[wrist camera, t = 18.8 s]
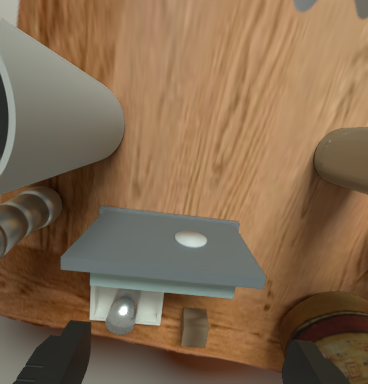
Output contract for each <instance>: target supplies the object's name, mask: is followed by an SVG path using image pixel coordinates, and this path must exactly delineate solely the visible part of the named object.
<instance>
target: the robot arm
mask: <svg viewBox="0 0 368 384" xmlns="http://www.w3.org/2000/svg"><path fill="white" fill-rule="evenodd" d="M314 165H315V169H316V171H317V173H318V175H319V176H320V177H321V178H322V179H324V180H325V181H327V182H330V183H333V184H336V185H339V186H342V187H345V188H348V189H351V190H354V191H357V192H360V193H364V194H367V195H368V127H356V128H341V129H337V130H335V131H333V132H331V133H329V134H328V135H327V136H325V137H324V138H323V140H322V141H321V142H320V144H319V145H318V147H317V149H316V152H315V156H314ZM90 349H91V322H85V321H73V320H71V321H69V323H68V324H67V326H66V327H65V329H64V331H63V332H62V334H61V336H53V335H51V336H50V337H49V338H47V339H46V340H45V341H44V342H43V343H42V344H40V345H39V346H38V347H37V348H36V349H35V351H34V352H33V354H32V356H31V357H30V359H29V360H28V362H27V363H26V366H25V367H24V368H23V369H22V371H21V373H20V374H19V375H18V377H17V379H16V381H15V382H14V383H13V384H81V383H82V380H83V378H84V375H85V373H86V370H87V366H88V363H89V357H90ZM282 378H283V383H284V384H351V383H350V382H349V380H348V379H347V378H346V376H345V375H344V373H343V372H342V371H341V370H340V369H339V368H338V367H337V366H336V365H335V364H334V363H333V362H332V361H331V360H330V359H329V358H324V356H323V355H322V353H321V352H320V350H319V349H318V347H317V346H316V344H315V343H313V342H312V341H302V340H292V341H291V342H290V345H289V348H288V351H287V354H286V358H285V361H284V364H283V368H282Z"/></svg>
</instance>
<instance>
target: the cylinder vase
mask: <svg viewBox="0 0 368 384" xmlns="http://www.w3.org/2000/svg"><path fill="white" fill-rule="evenodd" d="M124 129H125V120H124V114H123V111H122V108H121V105H120V103H119V101H118V100H117V98H116V97H115V95H114V94H113V93H112V92H111V91H110V90H109V89H108V88H107V87H106V86H104V85H103V84H101V83H100V82H98V81H97V80H95V79H94V78H92V77H91V76H89V75H88V74H86V73H85V72H83V71H82V70H80V69H79V68H77V67H76V66H74V65H73V64H71V63H70V62H68V61H67V60H65V59H64V58H62V57H61V56H59V55H57V54H56V53H54V52H53V51H51V50H50V49H48V48H47V47H45V46H44V45H42V44H41V43H39V42H38V41H36V40H35V39H33V38H32V37H30V36H29V35H27V34H26V33H24V32H23V31H21V30H20V29H18V28H17V27H15V26H13V25H12V24H10V23H9V22H7V21H6V20H4V19H3V18H1V17H0V195H1V194H4V193H7V192H10V191H13V190H16V189H19V188H22V187H25V186H28V185H30V184H33V183H36V182H39V181H42V180H45V179H48V178H51V177H54V176H57V175H59V174H62V173H65V172H68V171H71V170H74V169H77V168H80V167H83V166H86V165H88V164H91V163H94V162H97V161H100V160H103V159H105V158H107V157H108V156H110V155H111V154H112V153H113V152H114V151H115V150H116V149H117V148H118V146H119V144H120V143H121V140H122V138H123V135H124Z"/></svg>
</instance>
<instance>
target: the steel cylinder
mask: <svg viewBox="0 0 368 384" xmlns="http://www.w3.org/2000/svg"><path fill="white" fill-rule="evenodd" d="M141 293H142V290H134V289H123V288H118V289H117V292H116V295H115V297H114V300H113V302H112V305H111V308H110V310H109V313H108V315H107V318H106V321H105V324H106V327H107V329H108V330H109V331H110V332H112V333H114V334H118V335H123V334H127V333H129V332H130V331H131V330H132V329H133V327H134V324H135V319H136V315H137V311H138V306H139V302H140V297H141Z"/></svg>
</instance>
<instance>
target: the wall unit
mask: <svg viewBox="0 0 368 384" xmlns="http://www.w3.org/2000/svg"><path fill="white" fill-rule="evenodd" d="M239 225H240V224H239V222H238V221H231V220H223V219H214V218H205V217H196V216H188V215H179V214H170V213H161V212H153V211H144V210H135V209H126V208H118V207H109V206H101V207H100V208H99V217H98V218H97V219H96V220H95V221H94V222H93V223H92V224H91V226H90V227H89V228H88V229H87V230H86V231H85V232H84V233H83V234H82V235H81V236H80V237H79V238H78V239H77V240H76V241H75V242H74V243H73V245H72V246H71V247H70V248H69V249H68V250H67V251H66V252H65V253H64V254H63V255H62V256H61V270H70V271H81V272H90V285H91V286H102V287H112V288H123V289H134V290H145V291H155V292H166V293H177V294H187V295H198V296H209V297H219V298H230V299H233V296H234V291H235V287H246V288H256V289H264V285H265V281H266V278H267V277H266V276H265V274H264V273H263V271H262V269H261V268H260V266H259V265H258V263H257V261H256V260H255V258H254V256H253V255H252V253H251V252H250V250H249V248H248V247H247V245H246V243H245V242H244V240H243V239H242V237H241V235H240V234H239V232H238V230H239Z"/></svg>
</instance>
